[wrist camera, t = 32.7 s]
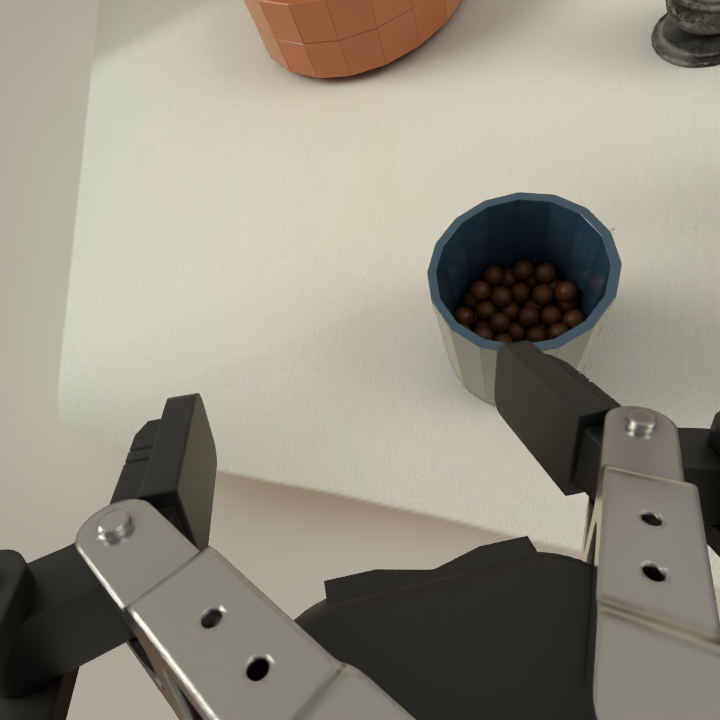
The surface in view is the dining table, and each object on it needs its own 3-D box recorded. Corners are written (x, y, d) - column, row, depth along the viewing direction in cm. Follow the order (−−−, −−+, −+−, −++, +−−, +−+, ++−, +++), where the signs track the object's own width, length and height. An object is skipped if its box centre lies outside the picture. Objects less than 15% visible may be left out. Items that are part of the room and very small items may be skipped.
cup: (460, 418, 24) (441, 367, 17) (441, 303, 27) (418, 216, 20) (600, 398, 23) (645, 332, 16) (566, 278, 25) (591, 173, 18)
